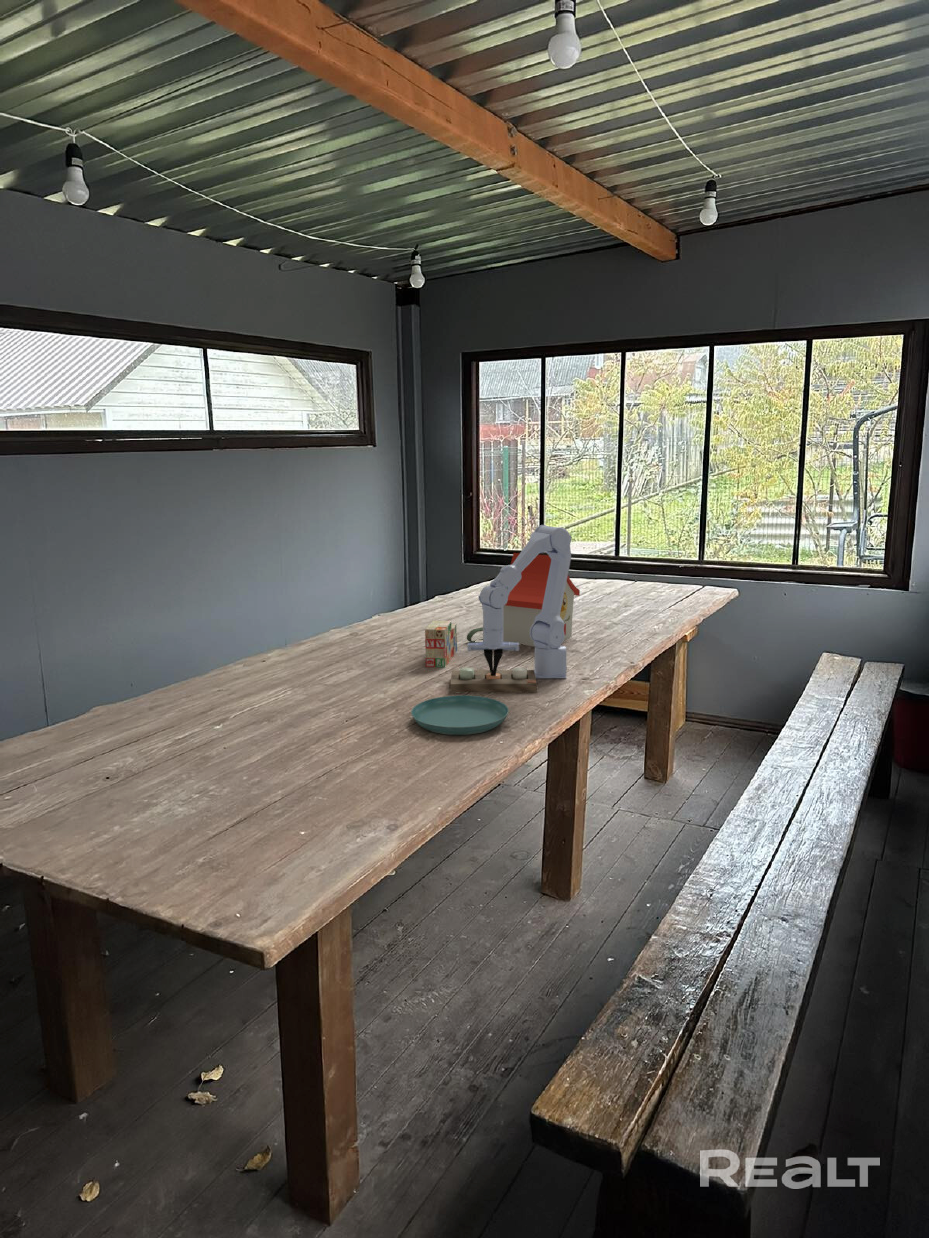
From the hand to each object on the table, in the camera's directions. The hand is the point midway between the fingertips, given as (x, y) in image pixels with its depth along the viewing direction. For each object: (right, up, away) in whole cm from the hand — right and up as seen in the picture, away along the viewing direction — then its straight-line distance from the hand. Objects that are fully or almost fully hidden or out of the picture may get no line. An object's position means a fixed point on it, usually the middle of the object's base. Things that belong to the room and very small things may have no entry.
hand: (493, 675), depth 240 cm
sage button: (-7, -1, 0) cm, 8 cm away
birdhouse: (+14, +9, +57) cm, 59 cm away
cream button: (+8, -1, 0) cm, 8 cm away
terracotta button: (0, -3, +1) cm, 3 cm away
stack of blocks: (-15, +3, +31) cm, 35 cm away
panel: (0, -3, +1) cm, 3 cm away
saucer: (-9, -10, -29) cm, 32 cm away
